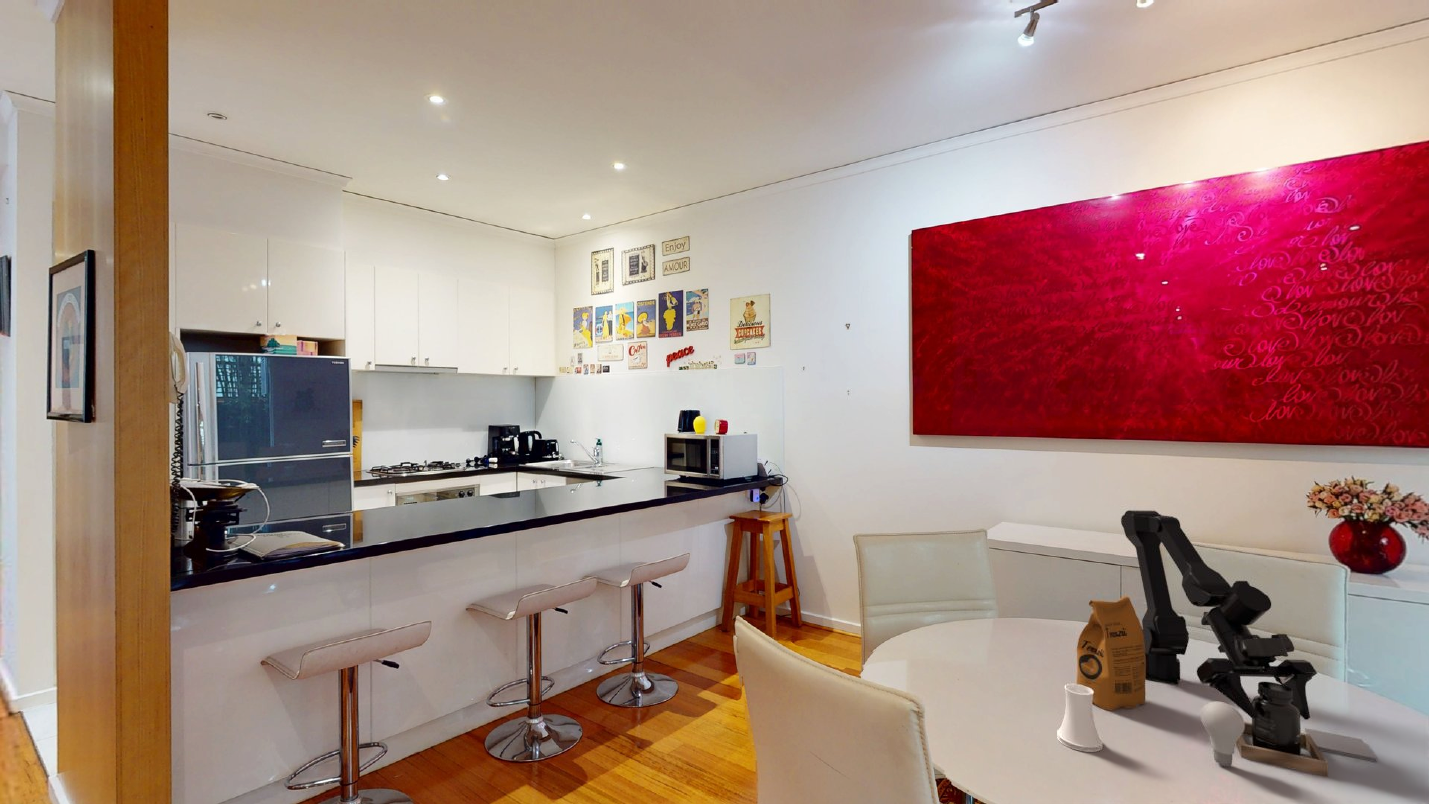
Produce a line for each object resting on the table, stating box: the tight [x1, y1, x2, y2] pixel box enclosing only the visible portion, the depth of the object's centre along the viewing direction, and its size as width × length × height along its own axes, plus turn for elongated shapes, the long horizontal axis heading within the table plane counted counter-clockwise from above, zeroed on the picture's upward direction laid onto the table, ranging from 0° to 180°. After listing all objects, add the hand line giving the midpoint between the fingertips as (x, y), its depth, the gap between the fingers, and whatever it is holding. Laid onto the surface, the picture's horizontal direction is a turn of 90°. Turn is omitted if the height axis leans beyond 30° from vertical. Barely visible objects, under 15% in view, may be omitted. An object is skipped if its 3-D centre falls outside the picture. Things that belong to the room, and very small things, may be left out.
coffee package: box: [1076, 595, 1147, 711], centre depth 139 cm, size 10×12×22 cm
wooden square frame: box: [1235, 721, 1329, 777], centre depth 118 cm, size 12×12×2 cm
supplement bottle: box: [1251, 681, 1302, 756], centre depth 118 cm, size 7×7×12 cm
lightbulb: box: [1200, 701, 1245, 767], centre depth 113 cm, size 6×6×11 cm
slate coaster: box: [1304, 727, 1377, 762], centre depth 120 cm, size 8×8×1 cm
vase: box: [1056, 683, 1104, 753], centre depth 121 cm, size 8×8×10 cm
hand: (1281, 718), depth 116 cm, fingers open, 9 cm apart
